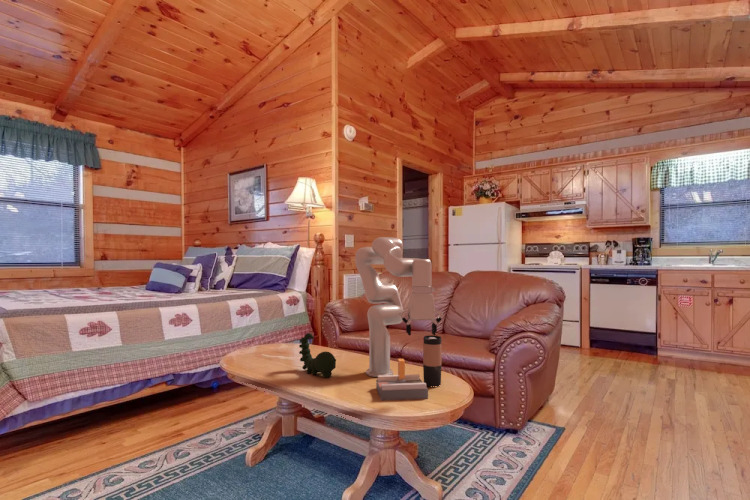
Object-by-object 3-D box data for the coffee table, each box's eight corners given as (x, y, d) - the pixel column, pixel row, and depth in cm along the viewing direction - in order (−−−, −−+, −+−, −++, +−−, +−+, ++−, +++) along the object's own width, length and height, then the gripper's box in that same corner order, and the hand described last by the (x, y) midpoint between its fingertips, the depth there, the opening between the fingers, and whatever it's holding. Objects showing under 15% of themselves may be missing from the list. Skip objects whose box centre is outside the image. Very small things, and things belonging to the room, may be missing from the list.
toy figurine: (295, 374, 187) (328, 381, 170) (293, 333, 189) (326, 336, 171) (311, 370, 194) (345, 377, 176) (310, 331, 195) (343, 333, 178)
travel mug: (439, 381, 173) (439, 335, 173) (443, 387, 165) (443, 338, 165) (421, 381, 172) (422, 335, 173) (424, 387, 165) (424, 338, 165)
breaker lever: (397, 381, 160) (397, 358, 160) (403, 381, 160) (403, 358, 160) (399, 385, 156) (399, 361, 156) (405, 385, 156) (405, 361, 156)
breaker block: (376, 388, 164) (376, 375, 164) (419, 386, 166) (419, 373, 166) (381, 400, 150) (381, 386, 150) (428, 398, 152) (428, 384, 152)
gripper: (441, 289, 161) (440, 332, 160) (398, 289, 159) (398, 332, 159) (446, 291, 153) (445, 336, 153) (401, 291, 151) (400, 336, 151)
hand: (421, 334), depth 156 cm, fingers open, 9 cm apart
